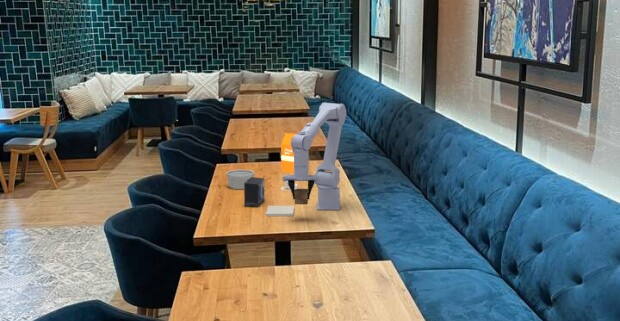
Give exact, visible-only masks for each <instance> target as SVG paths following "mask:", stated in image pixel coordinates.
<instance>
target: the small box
mask: <svg viewBox="0 0 620 321" xmlns="http://www.w3.org/2000/svg"><path fill="white" fill-rule="evenodd" d="M243 190H244V192H243V194H244V196H243V198H244V200H243V202H244V203H243V204H244V207H252V208H258V207H260V206H261V204H263V203H264V202H265V177H255V176H254V177H251V178H250V179H249V180H247V181H246V182H245V183H244V189H243Z"/></svg>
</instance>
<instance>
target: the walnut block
mask: <svg viewBox="0 0 620 321" xmlns="http://www.w3.org/2000/svg"><path fill="white" fill-rule="evenodd" d="M308 204H309V199H308V188H297V189H295V199H294V205H308Z"/></svg>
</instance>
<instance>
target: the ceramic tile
mask: <svg viewBox="0 0 620 321" xmlns="http://www.w3.org/2000/svg"><path fill="white" fill-rule="evenodd" d="M294 211H295V205H268V206H267V210H266V212H265V217H294V214H295V212H294Z"/></svg>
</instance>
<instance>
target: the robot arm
mask: <svg viewBox="0 0 620 321" xmlns="http://www.w3.org/2000/svg"><path fill="white" fill-rule="evenodd" d="M346 117H347V109H346V106H345V104H344V103H334V102H333V103H332V102H325V101H324V102H322V103H321V104H320V105H319V108H318V113H317V114H316V115H315V117H314V119H313V120H312V122H307V123H306V124H305V126H304V127H303V128H302V129H301V130H300V131H299V133H295V134H296V135H294V136H293V137H292V139H291V142H290V144H291V147H292V152H293V153H294V173H293V174H287V175H285V174H283V175H282V182H286V181H288V185H289V187H290V189H289V190H291V191H290V192H291V194H292V199H293V200H295V184H296V182H307V189H308V200H310V197H311V192H312V189H313V188H314V185H316V187H317V204H316V205H317V206H316V210H318V211H321V210H323V211H328V210H329V211H330V210H331V211H334V210H335V211H336V210H337V211H340V210H341V208H340V207H341V206H340V205H341V199H340V198H341V190H340V189H341V187H339V184H340V180H341V179H340V172H341V170H340V169H339V168H338V167H337V165H336V163H337V162H336V161H337V155H338V149H339V144H340V139H341V135H342V134H341V133H342V127H343V125H345V123H346V122H345V121H346ZM324 123H325V124H328V126H329V128H328V133H327V138H326V144H325V149H324V154H323V159H322V160H323V161H322V163H320V164H319V165H318V166H316V169H315V173H314V174H310V173H309V172H310V171H309V149H311V148H312V144H313V141H314V139H315V137H316V136H317V135H318V134H319V133H320V127H321V126H323V125H324Z"/></svg>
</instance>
